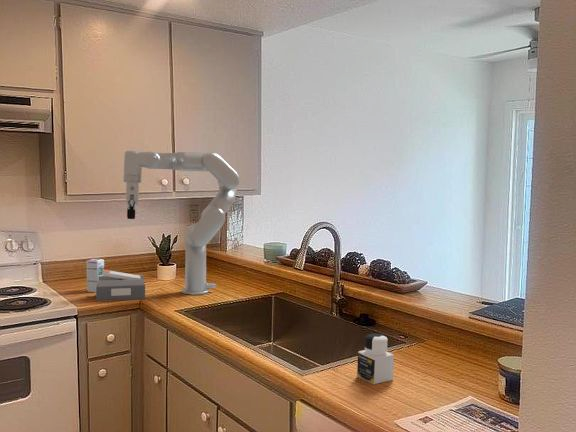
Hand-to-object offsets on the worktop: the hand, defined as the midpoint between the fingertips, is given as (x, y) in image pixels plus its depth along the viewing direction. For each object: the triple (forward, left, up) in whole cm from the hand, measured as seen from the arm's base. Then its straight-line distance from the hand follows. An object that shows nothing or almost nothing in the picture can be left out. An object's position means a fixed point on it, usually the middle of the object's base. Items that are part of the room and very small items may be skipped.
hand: (130, 217), depth 240 cm
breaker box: (+4, +2, -35) cm, 35 cm away
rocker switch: (+4, +2, -26) cm, 26 cm away
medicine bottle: (-62, +117, -35) cm, 137 cm away
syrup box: (+15, -13, -35) cm, 40 cm away
